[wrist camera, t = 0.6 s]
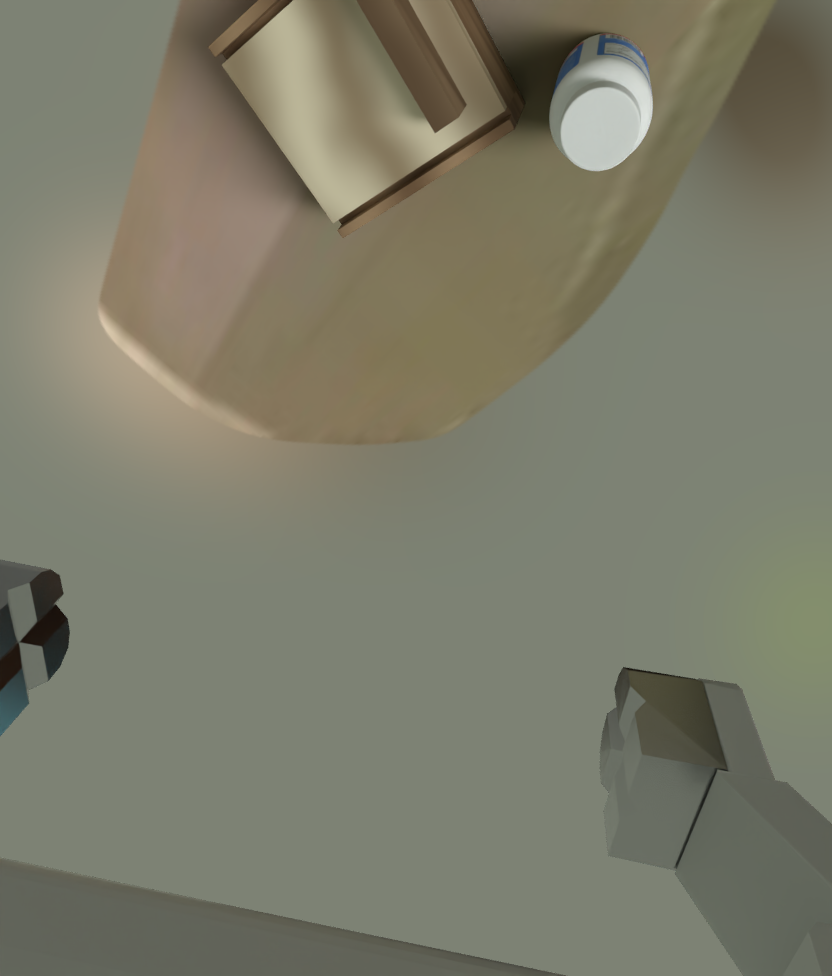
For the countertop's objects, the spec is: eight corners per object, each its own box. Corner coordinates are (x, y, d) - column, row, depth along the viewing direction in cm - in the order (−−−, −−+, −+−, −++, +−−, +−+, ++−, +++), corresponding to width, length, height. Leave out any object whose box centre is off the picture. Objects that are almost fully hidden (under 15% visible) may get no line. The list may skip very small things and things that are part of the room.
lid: (400, -95, 37) (383, -89, 34) (506, 106, 42) (499, 123, 39) (227, 61, 43) (203, 75, 41) (336, 218, 48) (321, 238, 46)
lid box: (408, -122, 39) (382, -117, 36) (525, 103, 45) (514, 129, 41) (244, 28, 46) (207, 47, 42) (365, 207, 52) (342, 238, 48)
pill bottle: (571, 144, 46) (560, 201, 39) (545, 55, 44) (527, 98, 36) (660, 110, 44) (664, 164, 37) (638, 13, 41) (639, 51, 34)
